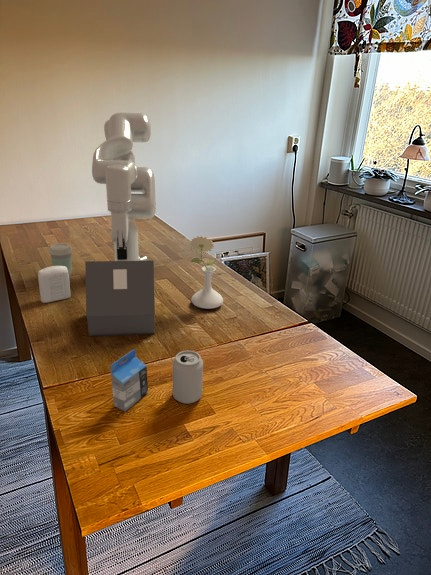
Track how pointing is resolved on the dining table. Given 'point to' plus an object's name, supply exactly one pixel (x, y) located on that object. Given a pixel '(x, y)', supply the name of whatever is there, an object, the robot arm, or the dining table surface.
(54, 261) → the coffee cup
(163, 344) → the dining table surface
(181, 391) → the can
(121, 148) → the robot arm
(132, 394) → the label tape box
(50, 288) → the photo printer
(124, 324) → the box
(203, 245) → the flower in vase
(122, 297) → the mailer lid
